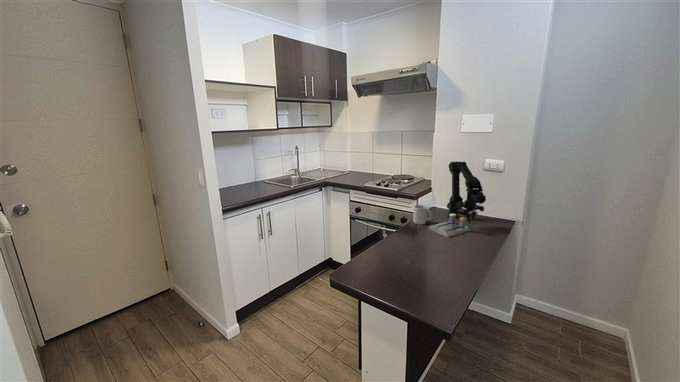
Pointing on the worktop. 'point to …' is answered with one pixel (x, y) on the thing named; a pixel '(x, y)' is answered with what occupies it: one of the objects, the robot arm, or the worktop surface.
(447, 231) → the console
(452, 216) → the cream fader
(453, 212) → the robot arm
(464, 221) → the orange fader
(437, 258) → the worktop surface
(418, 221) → the mug
